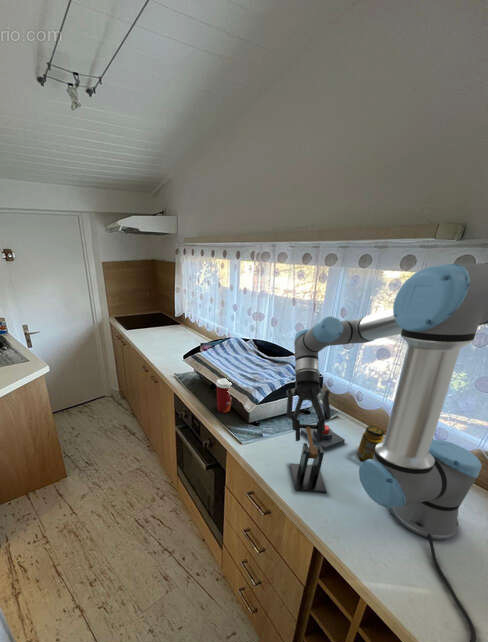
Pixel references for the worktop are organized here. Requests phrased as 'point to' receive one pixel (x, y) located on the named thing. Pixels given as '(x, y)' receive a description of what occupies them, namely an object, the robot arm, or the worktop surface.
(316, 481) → the rod bracket
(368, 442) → the condiment
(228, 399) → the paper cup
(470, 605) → the worktop surface
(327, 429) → the button
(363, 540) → the worktop surface
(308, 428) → the small hammer
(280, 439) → the worktop surface
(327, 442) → the button box
